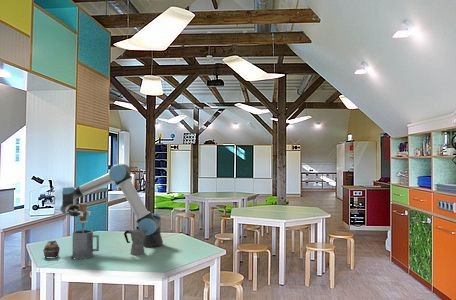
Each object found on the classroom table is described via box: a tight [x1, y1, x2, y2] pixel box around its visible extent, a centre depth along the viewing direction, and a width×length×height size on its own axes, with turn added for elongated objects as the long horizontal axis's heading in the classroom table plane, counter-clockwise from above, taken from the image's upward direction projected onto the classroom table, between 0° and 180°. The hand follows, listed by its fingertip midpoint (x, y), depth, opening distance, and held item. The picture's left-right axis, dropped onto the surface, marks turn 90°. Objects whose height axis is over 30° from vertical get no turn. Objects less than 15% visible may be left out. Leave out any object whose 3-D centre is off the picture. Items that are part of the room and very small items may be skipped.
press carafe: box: [71, 229, 100, 260], centre depth 249 cm, size 16×13×16 cm
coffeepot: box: [123, 226, 148, 256], centre depth 257 cm, size 15×9×18 cm, turn 107°
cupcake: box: [43, 240, 60, 258], centre depth 250 cm, size 10×10×10 cm
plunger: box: [77, 202, 89, 233], centre depth 250 cm, size 8×8×23 cm
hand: (86, 213), depth 246 cm, fingers closed on plunger, 4 cm apart
